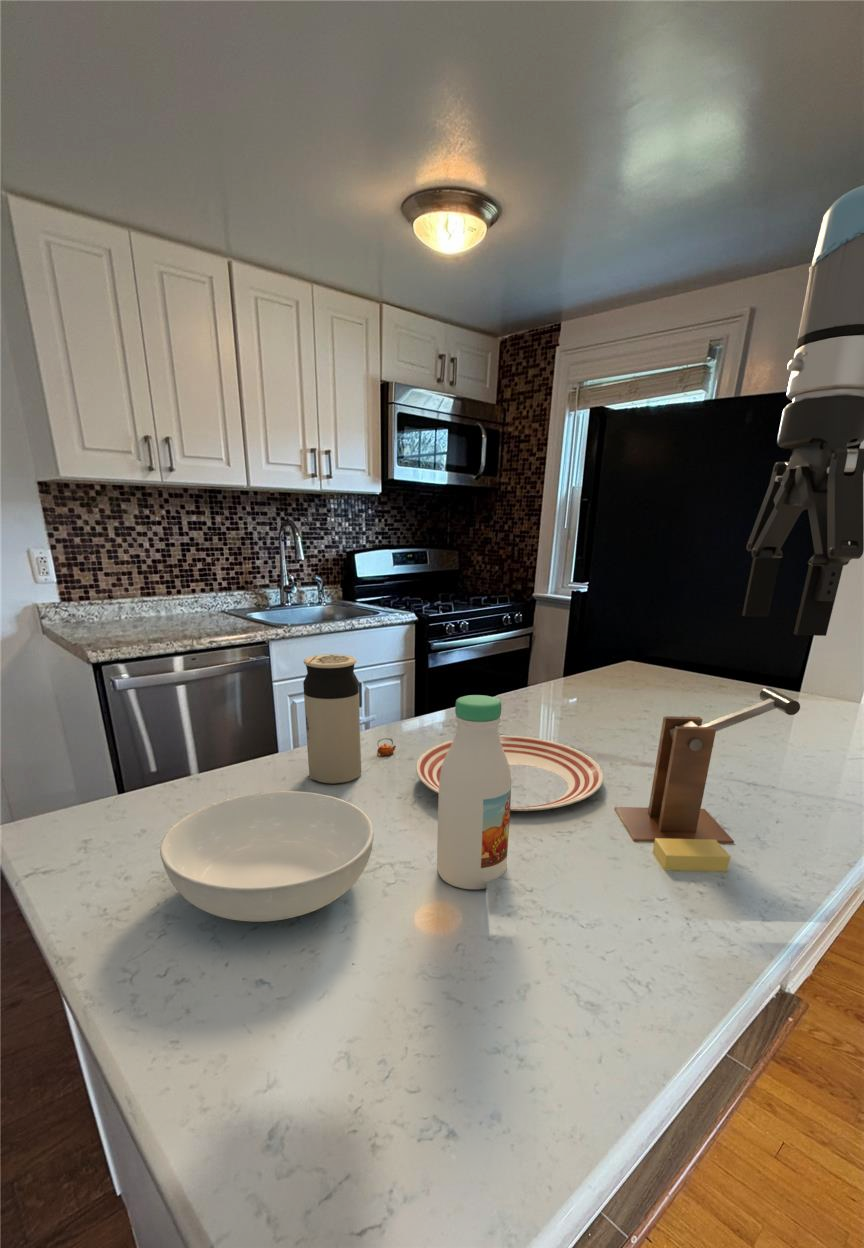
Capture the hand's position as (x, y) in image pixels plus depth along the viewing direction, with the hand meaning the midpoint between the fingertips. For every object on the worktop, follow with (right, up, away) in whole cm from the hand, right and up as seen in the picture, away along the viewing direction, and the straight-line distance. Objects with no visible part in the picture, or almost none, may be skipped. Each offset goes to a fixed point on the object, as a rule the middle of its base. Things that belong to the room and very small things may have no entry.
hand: (779, 625), depth 66 cm
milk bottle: (-33, -28, +2) cm, 43 cm away
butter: (-9, -27, +3) cm, 29 cm away
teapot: (-46, -13, +37) cm, 60 cm away
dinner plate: (-27, -18, +25) cm, 41 cm away
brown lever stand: (-8, -24, +11) cm, 28 cm away
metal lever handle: (-2, -11, +6) cm, 13 cm away
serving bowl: (-54, -29, -2) cm, 61 cm away
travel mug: (-53, -17, +28) cm, 62 cm away
